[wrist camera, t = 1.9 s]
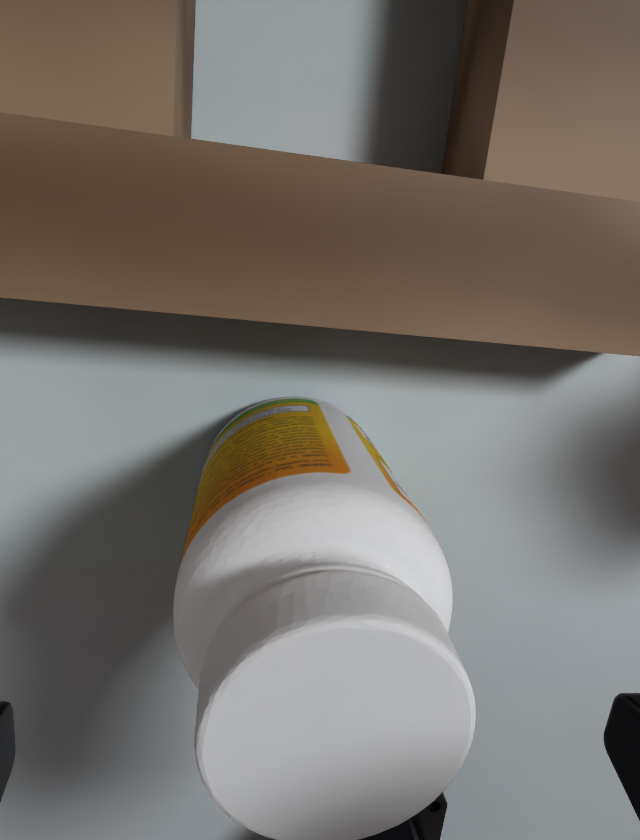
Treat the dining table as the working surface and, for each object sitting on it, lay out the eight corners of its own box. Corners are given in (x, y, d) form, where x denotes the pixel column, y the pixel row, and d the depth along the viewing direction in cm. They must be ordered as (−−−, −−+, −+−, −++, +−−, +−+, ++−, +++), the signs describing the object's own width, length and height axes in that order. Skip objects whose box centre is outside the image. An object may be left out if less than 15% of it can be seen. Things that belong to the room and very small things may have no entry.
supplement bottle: (176, 516, 16) (75, 842, 7) (248, 363, 15) (241, 508, 6) (328, 574, 18) (412, 915, 8) (404, 435, 17) (597, 648, 7)
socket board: (618, 345, 17) (695, 361, 14) (-74, 280, 14) (-161, 282, 11) (762, -222, 13) (907, -362, 10) (-146, -478, 10) (-309, -784, 7)
